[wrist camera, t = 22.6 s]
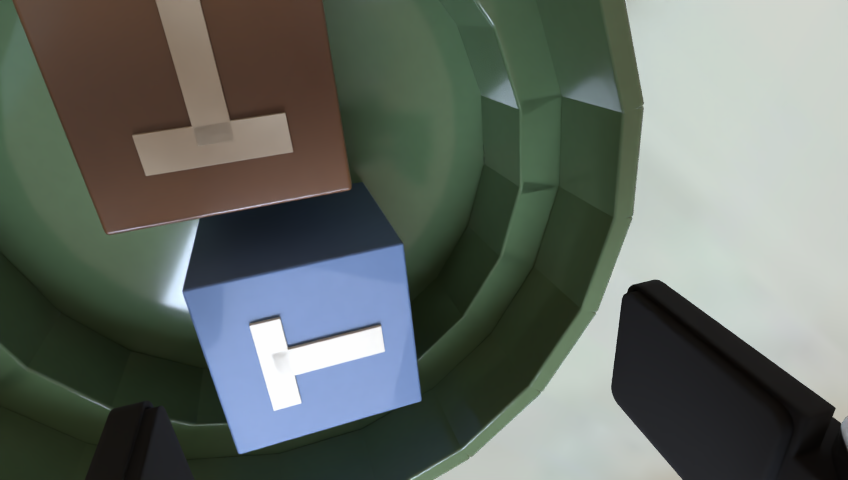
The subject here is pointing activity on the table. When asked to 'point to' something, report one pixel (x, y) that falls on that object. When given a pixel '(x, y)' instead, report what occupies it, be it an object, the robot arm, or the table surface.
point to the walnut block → (191, 103)
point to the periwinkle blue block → (303, 315)
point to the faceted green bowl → (401, 204)
